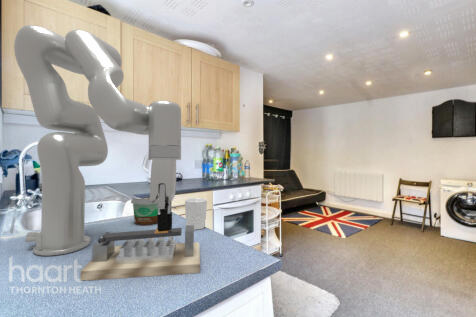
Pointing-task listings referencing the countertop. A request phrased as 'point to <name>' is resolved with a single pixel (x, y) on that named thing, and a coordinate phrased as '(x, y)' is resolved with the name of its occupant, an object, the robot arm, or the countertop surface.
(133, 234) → the strap
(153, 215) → the food container
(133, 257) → the heat sink
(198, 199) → the white cup
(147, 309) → the countertop surface
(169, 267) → the board
